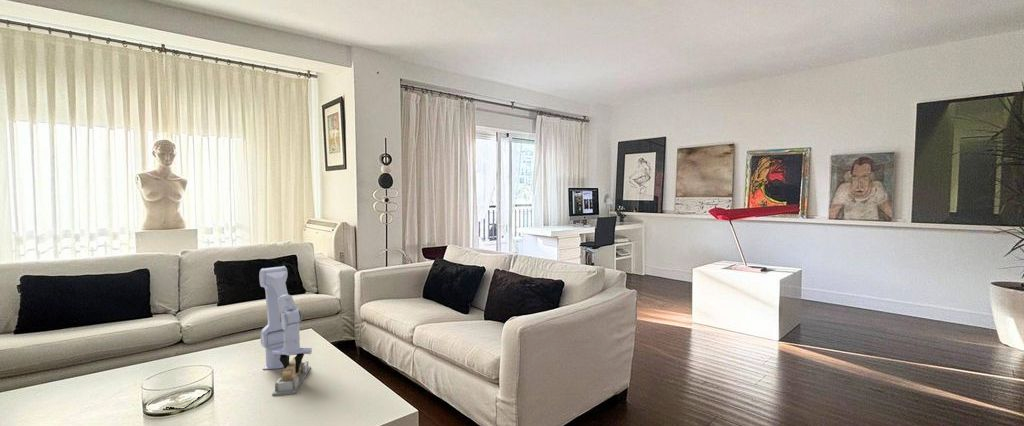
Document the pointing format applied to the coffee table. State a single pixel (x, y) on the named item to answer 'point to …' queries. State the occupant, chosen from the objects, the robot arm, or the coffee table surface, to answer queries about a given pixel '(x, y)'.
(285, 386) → the end cap cradle
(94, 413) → the coffee table surface
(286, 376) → the oak slat
